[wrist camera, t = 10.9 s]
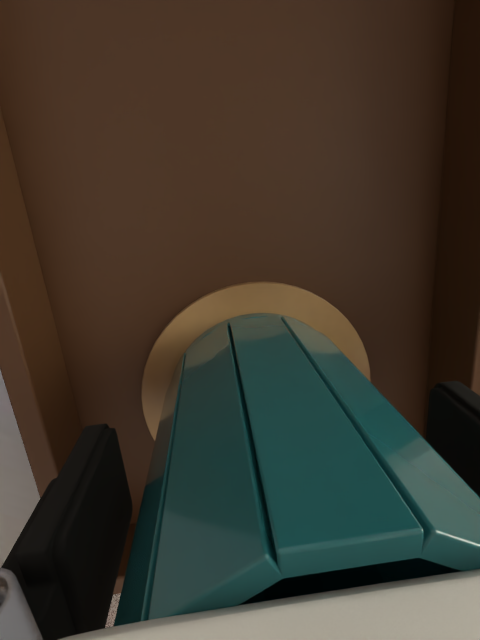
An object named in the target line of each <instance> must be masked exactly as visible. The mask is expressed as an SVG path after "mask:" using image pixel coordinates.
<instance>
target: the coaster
mask: <svg viewBox="0 0 480 640" xmlns="http://www.w3.org/2000/svg"><path fill="white" fill-rule="evenodd" d="M251 313H274V314H280V315H285V316H289V317H292V318H295V319H298V320H300V321H302V322H304V323H306V324H308V325H310V326H311V327H313V328H314V329H315V330H317V331H318V332H321V333H323V334H324V335H325V336H326V337H328V338H329V339H330V340H331V341H332V342H333V343H334V344H335V345H336V346H337V347H338V348H339V349H340V351H341V352H342V353H343V354H344V355H345V356H346V357H347V358H348V359H349V360H350V361H351V362H352V363H353V364H354V365H355V366H356V367H357V368H358V369H359V371H360V372H361V373H362V374H363V375H364V376H365V377H366V378H367V379H368V380H369V381H370V367H369V362H368V357H367V354H366V351H365V348H364V345H363V343H362V341H361V339H360V337H359V335H358V333H357V331H356V330H355V329H354V327H353V326H352V325H351V323H350V322H349V321H348V319H347V318H346V317H345V316H344V315H343V314H342V313H341V312H340V311H339V310H338V309H336V308H335V307H334V306H332V305H331V304H330V303H328V302H327V301H326V300H324V299H323V298H321V297H319V296H317V295H315V294H314V293H312V292H309V291H307V290H304V289H302V288H299V287H296V286H292V285H287V284H283V283H275V282H247V283H241V284H236V285H231V286H228V287H225V288H221V289H218V290H216V291H213V292H211V293H209V294H207V295H205V296H202V297H201V298H199V299H198V300H196V301H194V302H193V303H191V304H189V305H188V306H187V307H186V308H184V309H183V310H182V311H181V312H180V313H178V314H177V315H176V316H175V317H174V318H173V319H172V320H171V321H170V322H169V324H168V325H167V326H166V327H165V328H164V330H163V331H162V333H161V334H160V335H159V337H158V338H157V340H156V342H155V344H154V346H153V348H152V350H151V352H150V354H149V357H148V360H147V363H146V366H145V368H144V374H143V379H142V392H141V398H142V407H143V413H144V417H145V420H146V424H147V426H148V428H149V431H150V433H151V435H152V437H153V439H154V440H155V439H156V435H157V430H158V426H159V421H160V417H161V412H162V408H163V403H164V399H165V394H166V391H167V389H168V387H169V385H170V382H171V379H172V376H173V373H174V370H175V368H176V365H177V364H178V362H179V360H180V358H181V356H182V355H183V353H184V352H185V351H186V349H187V348H188V347H189V346H190V345H191V344H192V342H193V341H194V340H195V339H196V338H198V337H199V336H200V335H201V334H202V333H204V332H205V331H206V330H208V329H210V328H211V327H213V326H214V325H216V324H218V323H220V322H223V321H225V320H227V319H230V318H233V317H236V316H240V315H245V314H251ZM370 382H371V381H370Z"/></svg>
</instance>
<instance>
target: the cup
mask: <svg viewBox="0 0 480 640" xmlns="http://www.w3.org/2000/svg"><path fill="white" fill-rule="evenodd" d="M475 569H480V497H479V496H478V495H477V494H476V493H475V492H474V491H473V490H472V489H471V487H470V486H469V485H468V484H467V483H466V482H465V481H464V480H463V479H462V478H461V477H460V476H459V475H458V474H457V473H456V472H455V471H454V470H453V468H452V467H451V466H450V465H449V464H448V463H447V462H446V461H445V460H444V459H443V458H442V457H441V456H440V455H439V454H438V453H437V452H436V451H435V450H434V448H433V447H432V446H431V445H430V444H429V443H428V442H427V441H426V440H425V439H424V438H423V437H422V436H421V435H420V434H419V433H418V432H417V431H416V430H415V428H414V427H413V426H412V425H411V424H410V423H409V422H408V421H407V420H406V419H405V418H404V417H403V416H402V415H401V414H400V413H399V412H398V411H397V410H396V408H395V407H394V406H393V405H392V404H391V403H390V402H389V401H388V400H387V399H386V398H385V397H384V396H383V395H382V394H381V393H380V392H379V391H378V389H377V388H376V387H375V386H374V385H373V384H372V383H371V382H370V381H369V380H368V379H367V378H366V377H365V376H364V375H363V374H362V373H361V372H360V371H359V369H358V368H357V367H356V366H355V365H354V364H353V363H352V362H351V361H350V360H349V359H348V358H347V357H346V356H345V355H344V354H343V353H342V352H341V351H340V349H339V348H338V347H337V346H336V345H335V344H334V343H333V342H332V341H331V340H330V339H329V338H328V337H326V336H325V335H324V334H323V333H321V332H318V331H317V330H315V329H314V328H313V327H311V326H310V325H308V324H306V323H304V322H302V321H300V320H298V319H295V318H292V317H289V316H285V315H280V314H274V313H251V314H245V315H240V316H236V317H233V318H230V319H227V320H225V321H223V322H220V323H218V324H216V325H214V326H213V327H211V328H210V329H208V330H206V331H205V332H204V333H202V334H201V335H200V336H199V337H198V338H196V339H195V340H194V341H193V342H192V344H191V345H190V346H189V347H188V348H187V349H186V351H185V352H184V353H183V355H182V356H181V358H180V360H179V362H178V364H177V365H176V368H175V370H174V373H173V376H172V379H171V382H170V385H169V387H168V389H167V391H166V394H165V399H164V403H163V408H162V412H161V417H160V421H159V426H158V430H157V435H156V439H155V444H154V448H153V453H152V457H151V461H150V466H149V470H148V475H147V479H146V484H145V488H144V493H143V497H142V502H141V506H140V511H139V515H138V520H137V524H136V529H135V533H134V538H133V542H132V547H131V551H130V556H129V560H128V565H127V569H126V574H125V578H124V582H123V587H122V591H121V596H120V600H119V605H118V609H117V614H116V618H115V623H114V626H119V625H124V624H130V623H136V622H141V621H147V620H153V619H158V618H164V617H170V616H176V615H182V614H189V613H195V612H201V611H208V610H214V609H220V608H227V607H233V606H238V605H244V604H250V603H256V602H263V601H269V600H275V599H282V598H288V597H294V596H301V595H308V594H314V593H321V592H327V591H334V590H340V589H347V588H353V587H360V586H367V585H373V584H380V583H386V582H393V581H400V580H406V579H413V578H420V577H426V576H433V575H440V574H447V573H454V572H461V571H468V570H475Z"/></svg>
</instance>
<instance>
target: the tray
mask: <svg viewBox="0 0 480 640" xmlns="http://www.w3.org/2000/svg"><path fill="white" fill-rule="evenodd" d="M247 282H275V283H283V284H287V285H292V286H296V287H299V288H302V289H304V290H307V291H309V292H312V293H314V294H315V295H317V296H319V297H321V298H323V299H324V300H326V301H327V302H328V303H330V304H331V305H332V306H334V307H335V308H336V309H338V310H339V311H340V312H341V313H342V314H343V315H344V316H345V317H346V318H347V319H348V321H349V322H350V323H351V325H352V326H353V327H354V329H355V330H356V331H357V333H358V335H359V337H360V339H361V341H362V343H363V345H364V348H365V351H366V354H367V357H368V362H369V367H370V381H371V383H372V384H373V385H374V386H375V387H376V388H377V389H378V391H379V392H380V393H381V394H382V395H383V396H384V397H385V398H386V399H387V400H388V401H389V402H390V403H391V404H392V405H393V406H394V407H395V408H396V410H397V411H398V412H399V413H400V414H401V415H402V416H403V417H404V418H405V419H406V420H407V421H408V422H409V423H410V424H411V425H412V426H413V427H414V428H415V430H416V431H417V432H418V433H419V434H420V435H421V436H422V437H423V438H424V439H426V428H427V416H428V404H429V393H430V390H431V389H432V388H434V386H435V385H436V384H437V383H441V382H449V381H459V382H461V383H462V384H464V385H465V386H467V387H468V388H469V389H471V390H472V391H474V392H475V393H477V394H478V395H479V396H480V0H0V370H1V373H2V376H3V379H4V383H5V386H6V389H7V392H8V395H9V399H10V402H11V405H12V408H13V411H14V415H15V418H16V421H17V424H18V427H19V431H20V434H21V437H22V440H23V444H24V447H25V450H26V453H27V456H28V460H29V463H30V466H31V469H32V472H33V476H34V479H35V482H36V485H37V488H38V492H39V495H40V498H41V497H42V495H43V493H44V492H45V490H46V488H47V486H48V485H49V483H50V482H51V481H52V480H53V479H54V478H57V477H58V475H59V473H60V471H61V469H62V467H63V466H64V464H65V462H66V460H67V458H68V457H69V455H70V453H71V451H72V449H73V447H74V446H75V444H76V442H77V440H78V438H79V437H80V435H81V433H82V431H83V429H84V428H85V427H86V426H89V425H97V424H105V423H106V424H108V426H109V428H115V429H116V432H117V437H118V441H119V445H120V450H121V454H122V459H123V463H124V468H125V472H126V476H127V481H128V485H129V490H130V494H131V499H132V505H133V511H132V518H131V522H130V526H129V530H128V534H127V538H126V542H125V547H124V551H123V555H122V559H121V563H120V567H119V571H118V575H117V579H116V584H115V588H114V592H113V594H118V593H121V591H122V587H123V582H124V578H125V574H126V569H127V565H128V560H129V556H130V551H131V547H132V542H133V538H134V533H135V529H136V524H137V520H138V515H139V511H140V506H141V502H142V497H143V493H144V488H145V484H146V479H147V475H148V470H149V466H150V461H151V457H152V453H153V448H154V444H155V440H154V439H153V437H152V435H151V433H150V431H149V428H148V426H147V424H146V420H145V417H144V413H143V407H142V398H141V392H142V379H143V374H144V368H145V366H146V363H147V360H148V357H149V354H150V352H151V350H152V348H153V346H154V344H155V342H156V340H157V338H158V337H159V335H160V334H161V333H162V331H163V330H164V328H165V327H166V326H167V325H168V324H169V322H170V321H171V320H172V319H173V318H174V317H175V316H176V315H177V314H178V313H180V312H181V311H182V310H183V309H184V308H186V307H187V306H188V305H189V304H191V303H193V302H194V301H196V300H198V299H199V298H201V297H202V296H205V295H207V294H209V293H211V292H213V291H216V290H218V289H221V288H225V287H228V286H231V285H236V284H241V283H247Z"/></svg>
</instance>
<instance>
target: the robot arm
mask: <svg viewBox="0 0 480 640" xmlns="http://www.w3.org/2000/svg"><path fill="white" fill-rule="evenodd" d="M425 440H426V441H427V442H428V443H429V444H430V445H431V446H432V447H433V448H434V450H435V451H436V452H437V453H438V454H439V455H440V456H441V457H442V458H443V459H444V460H445V461H446V462H447V463H448V464H449V465H450V466H451V467H452V468H453V470H454V471H455V472H456V473H457V474H458V475H459V476H460V477H461V478H462V479H463V480H464V481H465V482H466V483H467V484H468V485H469V486H470V487H471V489H472V490H473V491H474V492H475V493H476V494H477V495H478V496H479V497H480V396H479V395H478V394H477V393H475V392H474V391H472V390H471V389H469V388H468V387H467V386H465V385H464V384H462V383H461V382H459V381H449V382H441V383H437V384H436V385H435V386H434V388H432V389H431V390H430V393H429V404H428V416H427V428H426V439H425ZM132 511H133V505H132V499H131V494H130V490H129V485H128V481H127V476H126V472H125V468H124V463H123V459H122V454H121V450H120V445H119V441H118V437H117V432H116V429H115V428H109V426H108V424H106V423H105V424H97V425H89V426H86V427H85V428H84V429H83V431H82V433H81V435H80V437H79V438H78V440H77V442H76V444H75V446H74V447H73V449H72V451H71V453H70V455H69V457H68V458H67V460H66V462H65V464H64V466H63V467H62V469H61V471H60V473H59V475H58V477H57V478H54V479H53V480H52V481H51V482H50V483H49V485H48V486H47V488H46V490H45V492H44V493H43V495H42V497H41V499H40V500H39V502H38V504H37V506H36V507H35V509H34V511H33V513H32V514H31V516H30V518H29V520H28V522H27V523H26V525H25V527H24V529H23V530H22V532H21V534H20V536H19V537H18V539H17V541H16V543H15V544H14V546H13V548H12V550H11V552H10V553H9V555H8V557H7V559H6V560H5V562H4V564H3V566H2V567H1V568H0V640H480V569H475V570H468V571H461V572H454V573H447V574H440V575H433V576H426V577H420V578H413V579H406V580H400V581H393V582H386V583H380V584H373V585H367V586H360V587H353V588H347V589H340V590H334V591H327V592H321V593H314V594H308V595H301V596H294V597H288V598H282V599H275V600H269V601H263V602H256V603H250V604H244V605H238V606H233V607H227V608H220V609H214V610H208V611H201V612H195V613H189V614H182V615H176V616H170V617H164V618H158V619H153V620H147V621H141V622H136V623H130V624H124V625H119V626H113V627H108V628H105V625H106V621H107V617H108V612H109V608H110V604H111V600H112V596H113V592H114V588H115V584H116V579H117V575H118V571H119V567H120V563H121V559H122V555H123V551H124V547H125V542H126V538H127V534H128V530H129V526H130V522H131V518H132Z"/></svg>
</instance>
